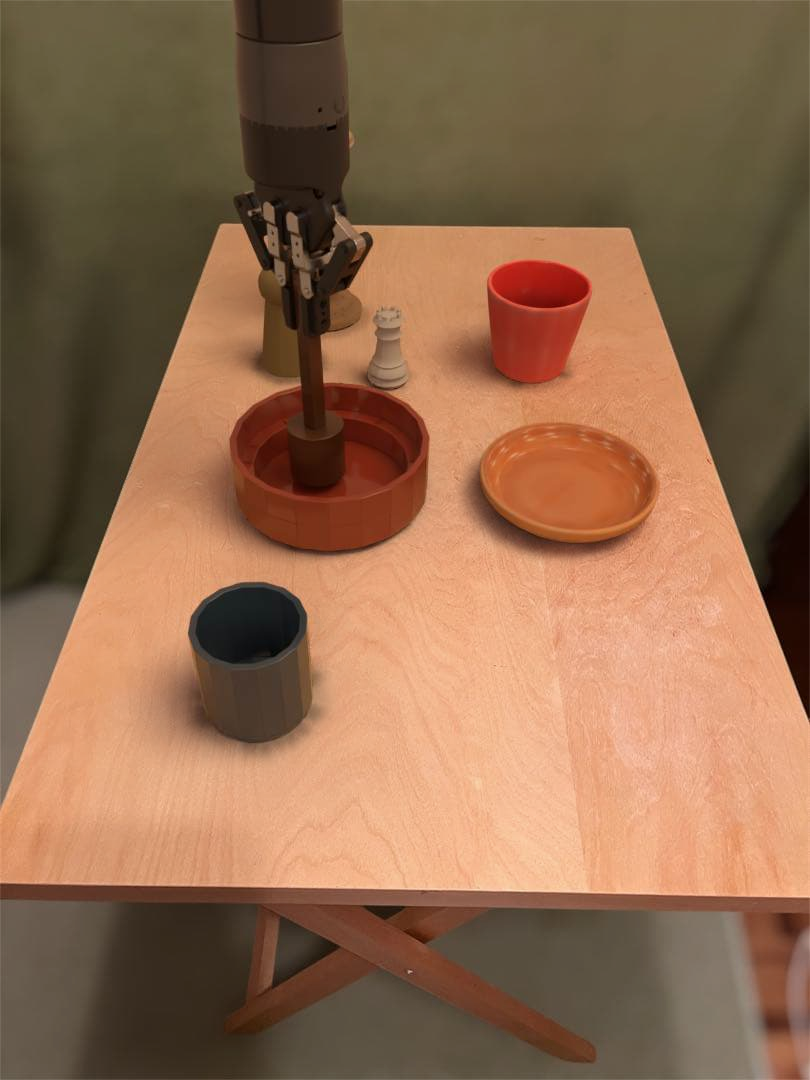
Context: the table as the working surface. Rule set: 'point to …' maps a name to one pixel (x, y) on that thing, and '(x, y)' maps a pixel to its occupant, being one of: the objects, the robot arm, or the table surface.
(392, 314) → the rook chess piece
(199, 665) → the crock
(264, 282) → the brown peg figure
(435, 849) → the table surface
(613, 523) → the saucer
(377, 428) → the bowl
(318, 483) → the wooden pestle
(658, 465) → the table surface
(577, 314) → the flower pot
